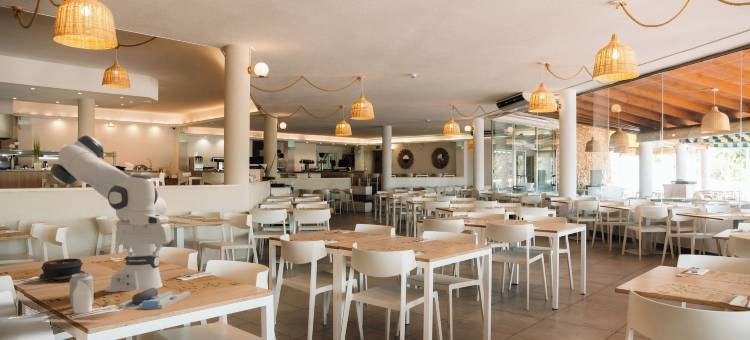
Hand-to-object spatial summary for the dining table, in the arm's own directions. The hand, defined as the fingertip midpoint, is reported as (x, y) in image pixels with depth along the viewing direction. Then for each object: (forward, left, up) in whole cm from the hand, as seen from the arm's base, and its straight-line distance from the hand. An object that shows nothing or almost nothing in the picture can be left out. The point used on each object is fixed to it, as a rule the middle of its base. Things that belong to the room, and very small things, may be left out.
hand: (143, 256), depth 189 cm
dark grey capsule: (0, +1, -17) cm, 17 cm away
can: (-23, -3, -18) cm, 29 cm away
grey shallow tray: (+3, +2, -18) cm, 18 cm away
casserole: (-70, +46, -18) cm, 85 cm away
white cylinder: (-16, -12, -18) cm, 27 cm away
